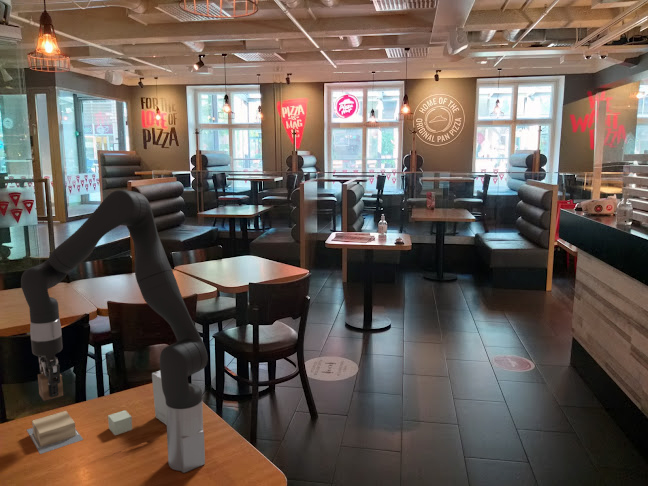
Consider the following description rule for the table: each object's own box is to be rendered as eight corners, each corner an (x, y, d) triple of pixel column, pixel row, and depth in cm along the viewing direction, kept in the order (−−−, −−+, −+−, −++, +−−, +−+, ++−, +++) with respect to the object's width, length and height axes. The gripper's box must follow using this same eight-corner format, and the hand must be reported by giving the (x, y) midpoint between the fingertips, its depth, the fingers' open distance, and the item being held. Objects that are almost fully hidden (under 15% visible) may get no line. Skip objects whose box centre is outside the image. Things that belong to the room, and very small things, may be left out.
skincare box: (184, 420, 157) (182, 374, 154) (166, 427, 153) (164, 380, 150) (171, 410, 163) (169, 366, 160) (153, 416, 159) (151, 371, 156)
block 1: (63, 395, 145) (61, 375, 144) (43, 400, 141) (42, 380, 140) (58, 389, 148) (57, 369, 147) (39, 394, 145) (37, 374, 144)
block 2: (132, 432, 150) (131, 416, 149) (115, 438, 147) (114, 422, 146) (126, 425, 154) (125, 410, 153) (109, 431, 151) (108, 415, 150)
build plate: (83, 442, 145) (83, 439, 144) (40, 456, 137) (40, 453, 137) (67, 419, 156) (67, 417, 156) (26, 432, 149) (26, 429, 149)
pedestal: (75, 435, 146) (74, 422, 146) (40, 447, 141) (39, 433, 140) (66, 423, 153) (66, 410, 152) (33, 433, 147) (32, 420, 147)
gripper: (68, 339, 139) (72, 398, 142) (54, 325, 150) (58, 380, 152) (37, 346, 134) (42, 406, 137) (25, 331, 145) (30, 387, 148)
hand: (51, 392), depth 145 cm, fingers closed on block 1, 5 cm apart
